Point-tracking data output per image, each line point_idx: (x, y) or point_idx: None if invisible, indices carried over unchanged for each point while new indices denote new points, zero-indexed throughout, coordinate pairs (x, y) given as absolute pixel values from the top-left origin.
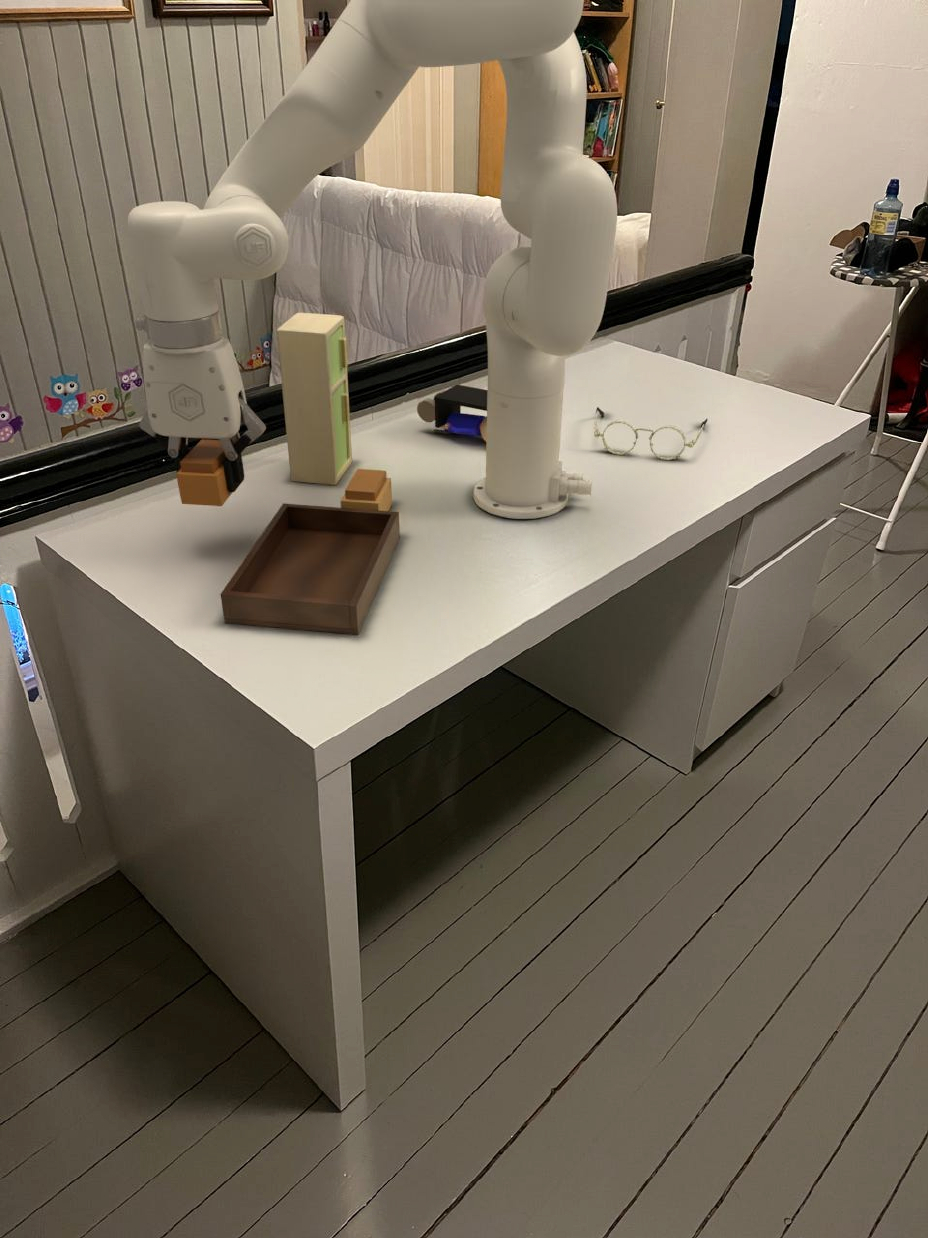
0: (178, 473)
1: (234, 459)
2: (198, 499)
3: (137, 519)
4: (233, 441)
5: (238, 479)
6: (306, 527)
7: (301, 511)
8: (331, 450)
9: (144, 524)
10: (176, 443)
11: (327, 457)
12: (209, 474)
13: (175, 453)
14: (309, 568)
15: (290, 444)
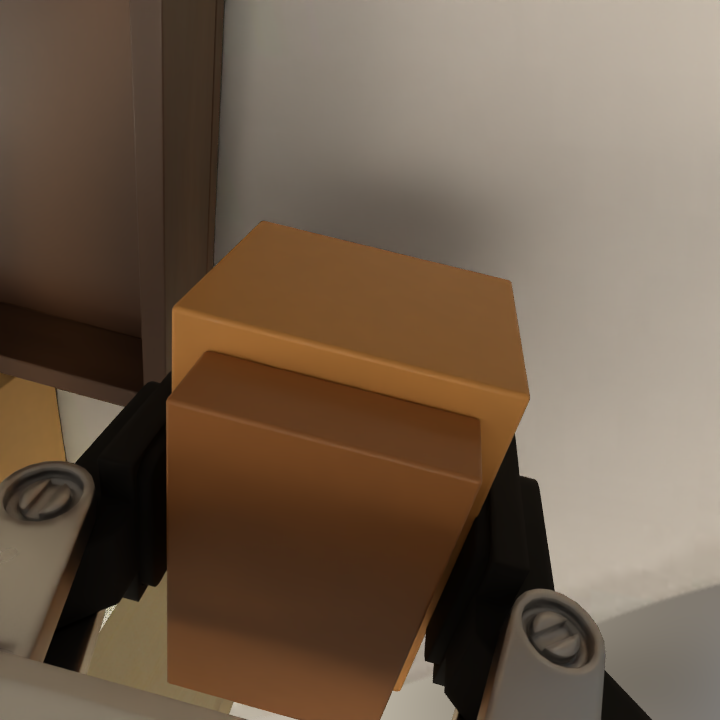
0: (507, 397)
1: (45, 464)
2: (395, 267)
3: (709, 487)
4: (56, 645)
5: (150, 389)
6: (126, 339)
7: (103, 372)
8: (95, 648)
9: (685, 454)
10: (514, 710)
11: (122, 631)
12: (234, 337)
13: (535, 618)
14: (17, 42)
15: (213, 696)
